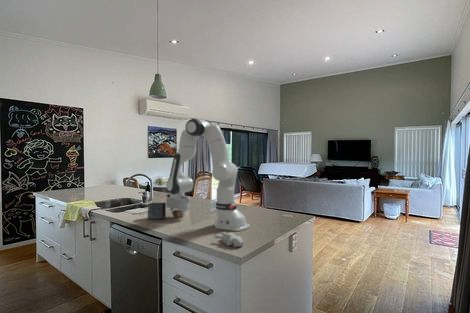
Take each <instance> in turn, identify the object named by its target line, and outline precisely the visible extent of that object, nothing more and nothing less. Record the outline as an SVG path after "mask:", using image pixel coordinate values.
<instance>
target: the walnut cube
mask: <svg viewBox="0 0 470 313" xmlns="http://www.w3.org/2000/svg"><path fill="white" fill-rule="evenodd" d="M182 213H183V211H182V210H180V209H174V211H173V214H172V218H173V219H178V220H179V219H181V218H184V216H181V214H182Z"/></svg>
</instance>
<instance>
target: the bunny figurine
mask: <svg viewBox="0 0 470 313" xmlns="http://www.w3.org/2000/svg"><path fill="white" fill-rule="evenodd" d="M221 234H222V235H220V234H214V238H215V239H220V240H221V241H222V243H223V244H224V245H226V246H228V247H229V246H232V247H234V248H237V247H238V248H239V247H241V246H243V245H244V243H245V242H244V240H243V239H242V236H241V235H240V236H239V235H236V234H235V233H233V232H226V231H222V232H221Z"/></svg>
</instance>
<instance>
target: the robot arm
mask: <svg viewBox="0 0 470 313" xmlns="http://www.w3.org/2000/svg"><path fill="white" fill-rule="evenodd" d="M199 138H200V139H201V138H205V139H206V142H207V146H208V150H209V153H210V157H211V164H212V170H211V175H212V177H213V179H215V180H216V181H218V184H217V188H216V202H215V208H216V210H215V212H216V213H215V219H214V223H213V226H214V228H215V229H218V230H219V229H220V230H224V231H225V230H226V231H234V232H240V231H245V230H247V229H249V228H250V227H251V226H250V223H247V221H246V216H245V215H244V214H243V213H242V212H241V211H240V210H239V209H238V205H239V204H238V203H236V202H235V187H236V181H237V175H238V172H239V171H238V167H237V165H236V164H234V163H233V162H232V161H231V162H230V161H229V149H228V146H227V143H226V140H225V136H224V134H223V131H222V130H221V128H220V125H218V124H212V123H211V122H210V121H208V120H204V119H201V118H191V119H189V120H188V121H186V123H185V129H183V130H182V132H181V134H180V138H179V146H178V151H177V152H176V153H175V155H174V156H173V160H172V163H171V167H170V173H169V177H168V181H167V183H166V190H167V191H168V193H166V198H165V199H166V200H165V201H166V202H165V203H166V207H167V208H169V209H170V211H171V215H173V211H174V210H178V209H179V210H182V211H183V213H182V214H181V216H183V217H185V215H186V214H185V213H186V212H187V211H189V210H190V209H191V203H190V201H191V200H190V198H189V196H185V193H189V192H192V191H193V190H194V188H195V182H194V180H193V179H192V177H188V176H187V175H185V173H184V171H183V172H182V171H180V170H181V167H182V165H183V164H184V163H185V162H188V161H190V160H192V159H193V158H194V157H195V155H196V153H197V143H198V142H197V141H198V139H199Z"/></svg>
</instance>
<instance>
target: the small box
mask: <svg viewBox="0 0 470 313" xmlns="http://www.w3.org/2000/svg"><path fill="white" fill-rule="evenodd" d="M166 207H167V205H166V202H150V203H148V204H147V220H156V221H157V220H159V221H160V220H161V221H163V220H164V219H166V218H167V217H166V216H167V215H166V212H167V211H166V210H167V209H166Z"/></svg>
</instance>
